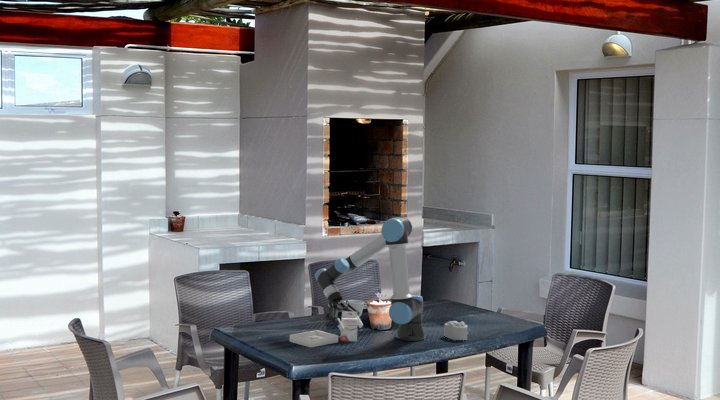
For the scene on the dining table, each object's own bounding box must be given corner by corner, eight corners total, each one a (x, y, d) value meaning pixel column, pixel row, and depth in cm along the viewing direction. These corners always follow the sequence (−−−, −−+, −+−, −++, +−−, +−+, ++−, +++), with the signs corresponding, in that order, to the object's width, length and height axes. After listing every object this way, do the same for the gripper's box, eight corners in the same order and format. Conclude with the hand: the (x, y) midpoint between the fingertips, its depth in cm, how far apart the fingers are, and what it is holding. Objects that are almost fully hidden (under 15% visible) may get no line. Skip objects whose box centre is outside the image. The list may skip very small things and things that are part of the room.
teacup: (335, 317, 522) (336, 300, 522) (359, 316, 528) (360, 299, 527) (342, 321, 511) (343, 304, 510) (367, 320, 516) (367, 303, 516)
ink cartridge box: (340, 341, 461) (341, 312, 460) (340, 339, 466) (341, 311, 465) (357, 341, 461) (358, 313, 460) (356, 339, 466) (357, 311, 465)
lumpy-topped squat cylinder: (456, 334, 485) (457, 319, 485) (471, 339, 474) (472, 323, 474) (441, 336, 480) (441, 320, 479) (456, 341, 469) (457, 325, 468)
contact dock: (338, 342, 458) (338, 335, 458) (310, 347, 445) (310, 340, 445) (317, 336, 470) (317, 330, 469) (289, 341, 456) (289, 334, 456)
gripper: (346, 297, 482) (365, 329, 472) (312, 301, 464) (330, 335, 455) (353, 288, 478) (372, 321, 468) (319, 293, 460) (338, 327, 451)
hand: (352, 328), depth 461 cm, fingers open, 13 cm apart
